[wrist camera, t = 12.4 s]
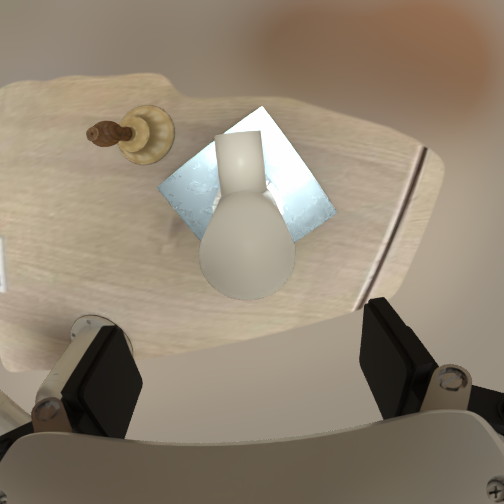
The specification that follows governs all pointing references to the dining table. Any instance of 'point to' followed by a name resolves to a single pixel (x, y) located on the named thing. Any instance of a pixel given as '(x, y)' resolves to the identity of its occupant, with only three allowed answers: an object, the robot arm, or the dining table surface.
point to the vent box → (277, 180)
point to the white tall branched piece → (245, 225)
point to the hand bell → (137, 134)
